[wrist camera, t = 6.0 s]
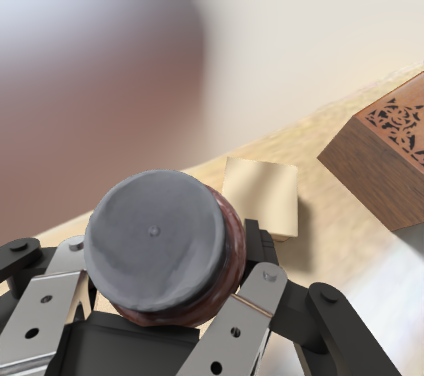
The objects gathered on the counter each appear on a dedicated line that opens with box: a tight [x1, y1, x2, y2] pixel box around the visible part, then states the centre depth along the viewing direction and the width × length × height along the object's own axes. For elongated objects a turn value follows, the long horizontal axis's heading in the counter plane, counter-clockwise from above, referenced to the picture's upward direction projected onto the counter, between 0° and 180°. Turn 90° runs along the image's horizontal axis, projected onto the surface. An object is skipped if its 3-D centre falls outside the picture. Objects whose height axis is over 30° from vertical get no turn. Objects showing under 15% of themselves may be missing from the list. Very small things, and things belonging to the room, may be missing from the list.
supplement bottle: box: [84, 169, 247, 328], centre depth 11 cm, size 6×6×11 cm
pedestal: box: [222, 157, 298, 242], centre depth 29 cm, size 9×9×5 cm
